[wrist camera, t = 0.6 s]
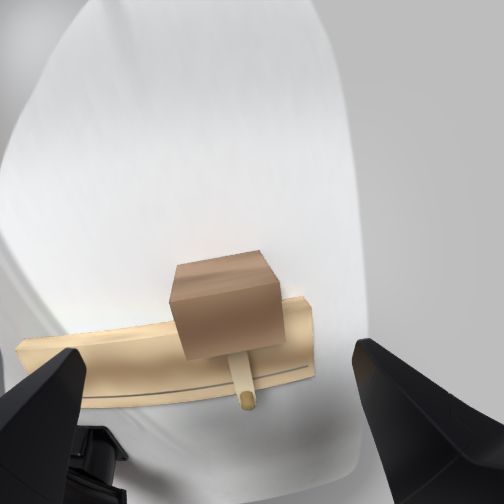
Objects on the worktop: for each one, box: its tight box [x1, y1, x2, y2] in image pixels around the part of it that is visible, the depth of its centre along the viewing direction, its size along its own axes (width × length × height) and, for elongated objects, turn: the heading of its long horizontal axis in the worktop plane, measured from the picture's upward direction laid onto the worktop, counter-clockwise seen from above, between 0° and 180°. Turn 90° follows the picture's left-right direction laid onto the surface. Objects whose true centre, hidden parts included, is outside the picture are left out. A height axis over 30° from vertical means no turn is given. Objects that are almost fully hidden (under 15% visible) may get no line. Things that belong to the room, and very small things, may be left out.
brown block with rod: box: [169, 250, 286, 410], centre depth 20 cm, size 11×6×6 cm, turn 8°
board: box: [15, 296, 314, 408], centre depth 22 cm, size 7×26×2 cm, turn 98°
